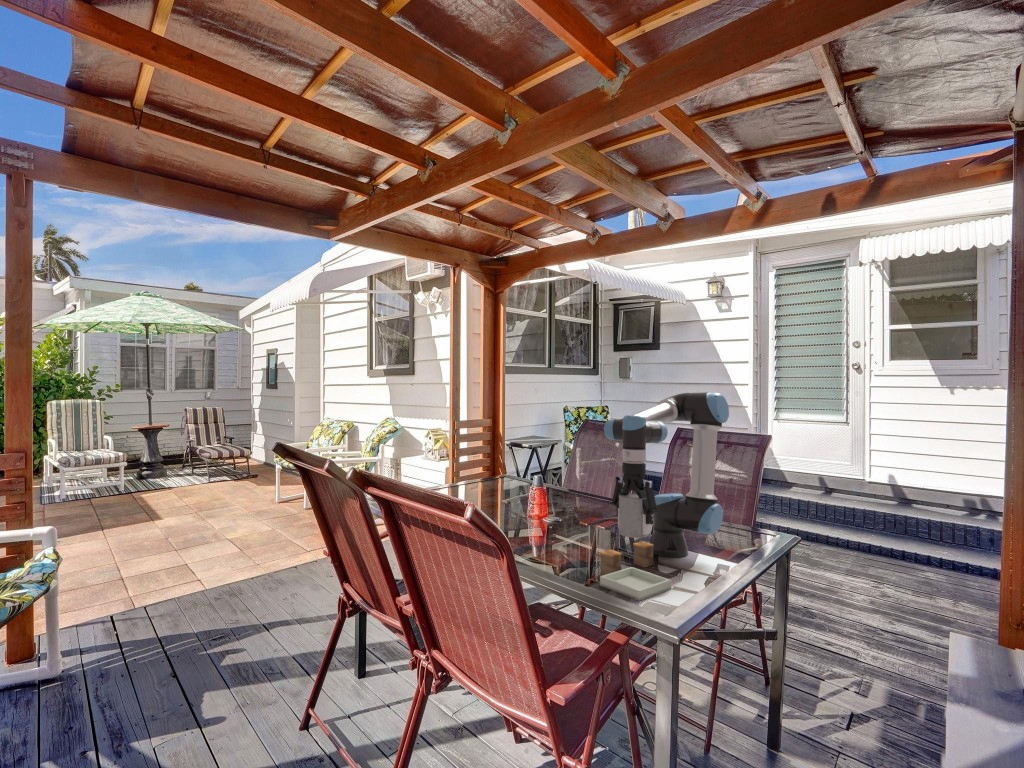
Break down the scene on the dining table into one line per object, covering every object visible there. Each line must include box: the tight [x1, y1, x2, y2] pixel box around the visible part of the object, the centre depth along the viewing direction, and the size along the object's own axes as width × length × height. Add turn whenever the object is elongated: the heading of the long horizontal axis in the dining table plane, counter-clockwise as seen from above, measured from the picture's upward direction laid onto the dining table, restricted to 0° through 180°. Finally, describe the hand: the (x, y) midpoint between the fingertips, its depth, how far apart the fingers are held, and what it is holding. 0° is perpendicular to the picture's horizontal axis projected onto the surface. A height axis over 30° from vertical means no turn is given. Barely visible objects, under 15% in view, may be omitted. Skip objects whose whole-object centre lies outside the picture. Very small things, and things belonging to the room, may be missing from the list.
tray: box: [599, 566, 672, 602], centre depth 162 cm, size 16×16×3 cm
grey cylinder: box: [618, 493, 649, 539], centre depth 164 cm, size 10×10×12 cm
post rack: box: [599, 540, 654, 576], centre depth 180 cm, size 23×5×8 cm, turn 127°
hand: (633, 530), depth 164 cm, fingers closed on grey cylinder, 9 cm apart
